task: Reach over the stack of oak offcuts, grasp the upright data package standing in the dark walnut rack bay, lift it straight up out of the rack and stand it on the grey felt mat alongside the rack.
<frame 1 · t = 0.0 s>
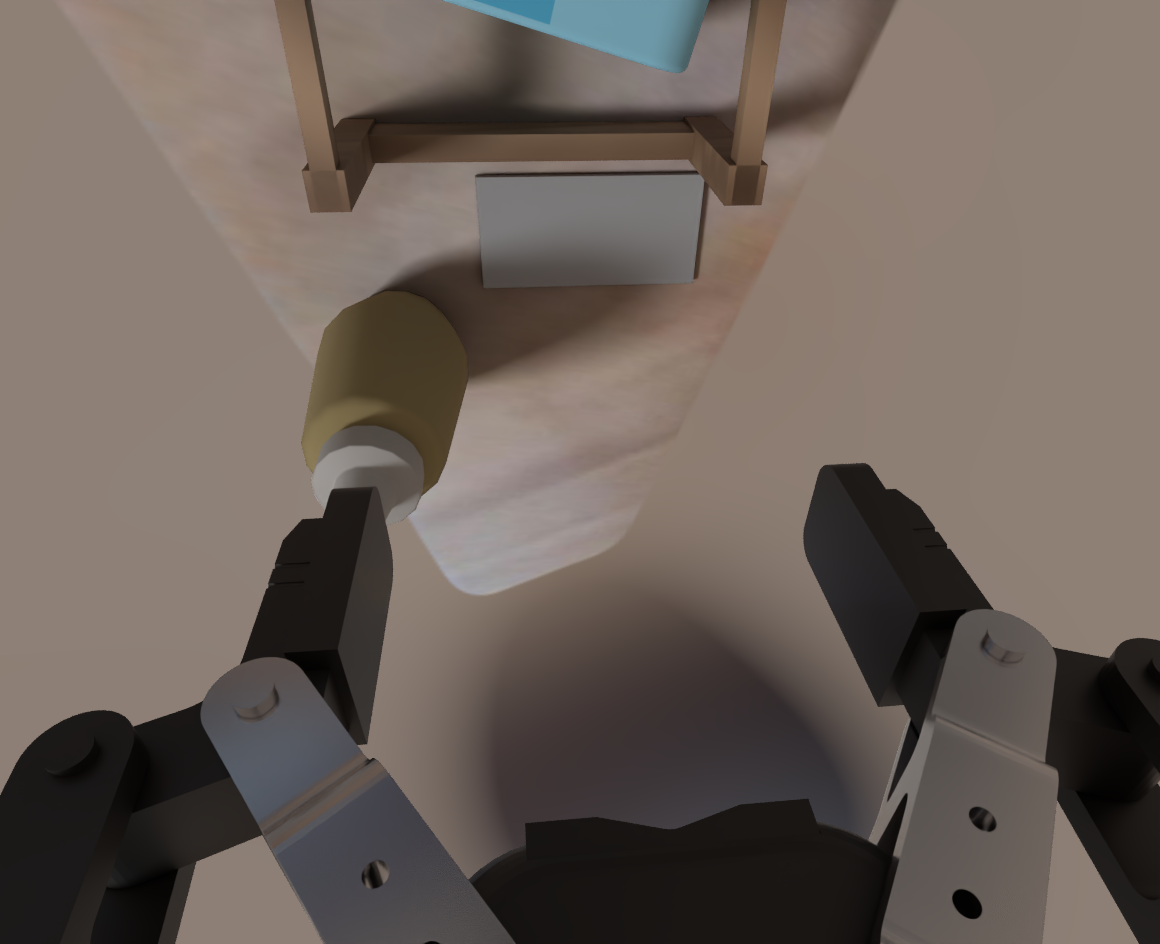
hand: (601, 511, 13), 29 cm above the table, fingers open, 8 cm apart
squeeze bottle: (402, 334, 43), on the table
mat: (589, 230, 40), on the table
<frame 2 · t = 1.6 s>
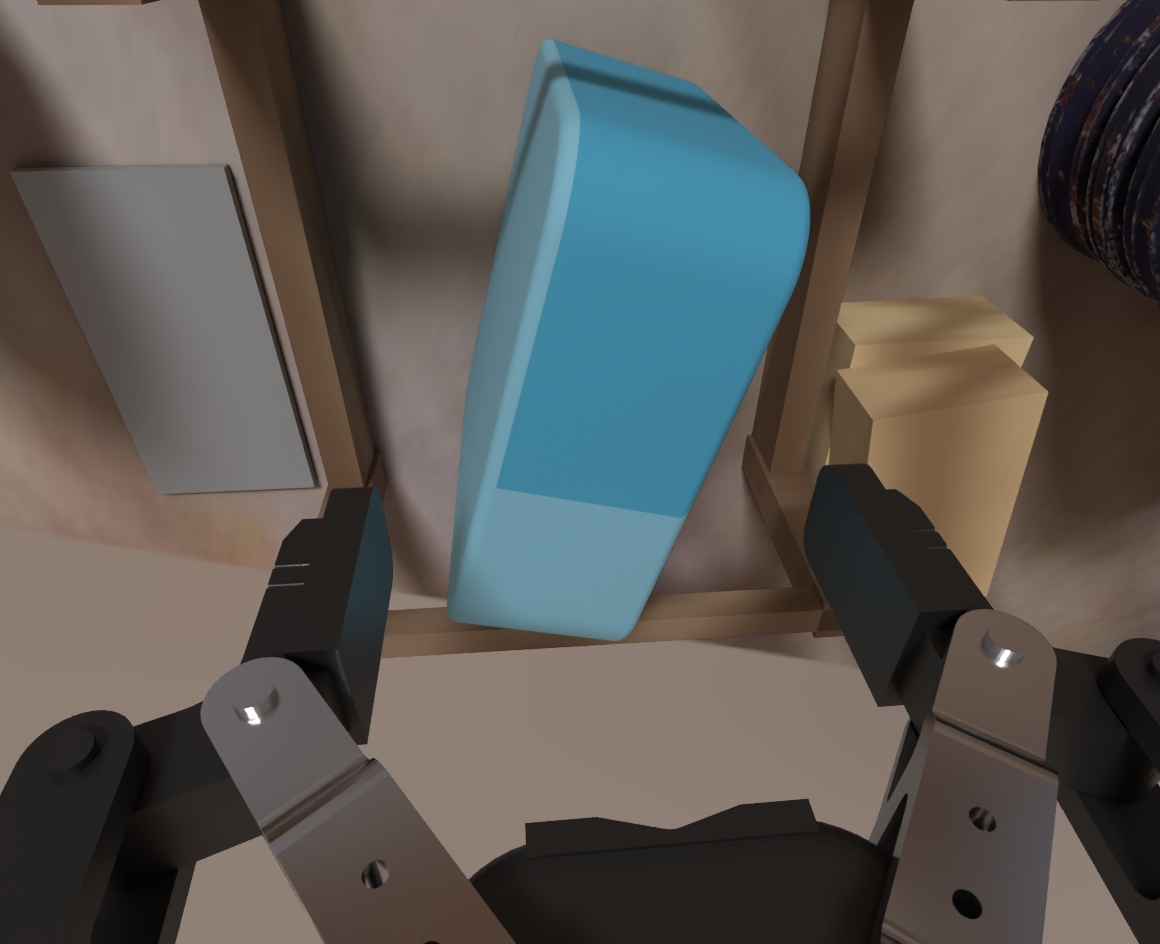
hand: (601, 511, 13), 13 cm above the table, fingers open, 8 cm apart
rack: (564, 253, 24), on the table
data package: (564, 250, 24), on the table
offcut upper: (897, 464, 26), point 3 cm above the table
offcut lower: (866, 412, 29), on the table
mat: (189, 348, 25), on the table
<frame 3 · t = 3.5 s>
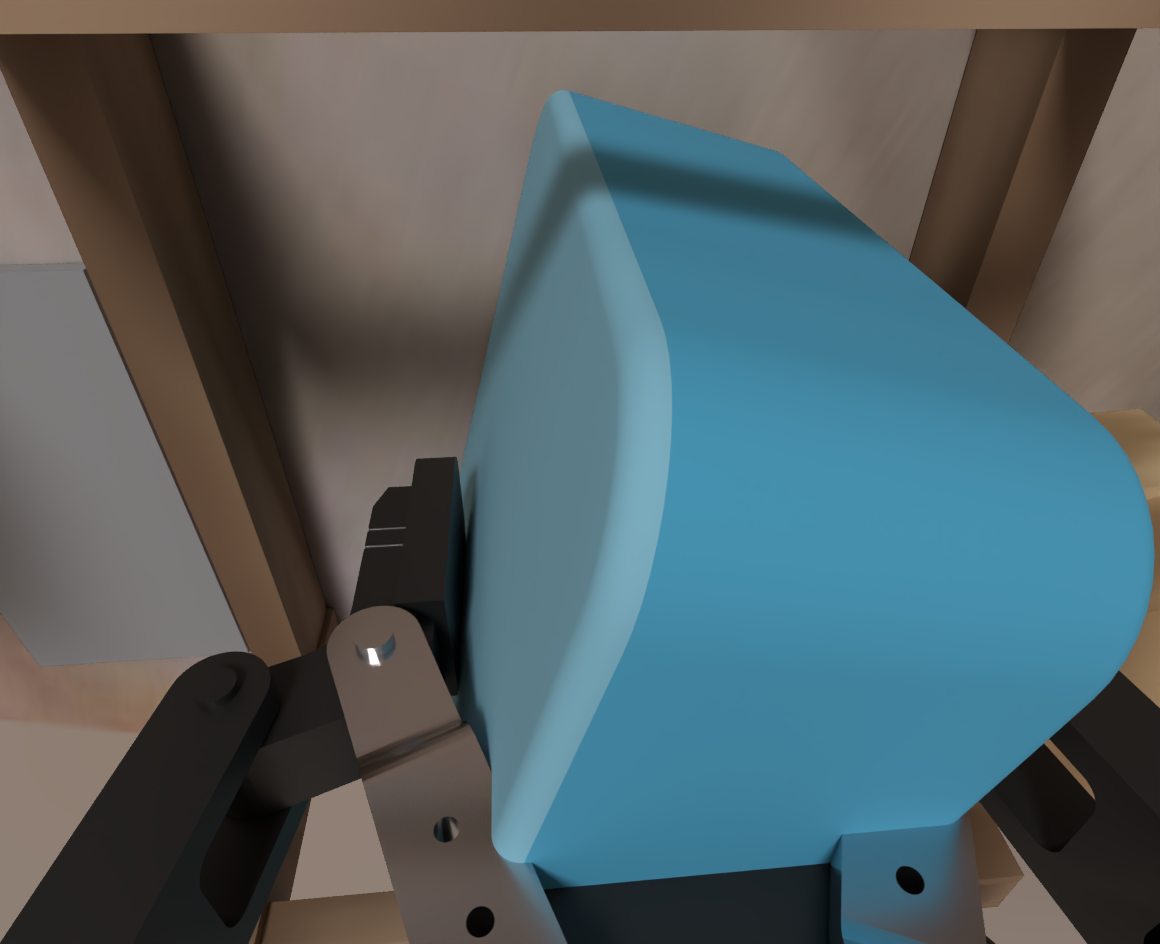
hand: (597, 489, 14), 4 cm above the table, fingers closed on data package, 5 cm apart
rack: (578, 371, 17), on the table
data package: (577, 366, 17), on the table, touching gripper
offcut upper: (1022, 635, 20), point 3 cm above the table, touching offcut lower
offcut lower: (972, 542, 23), on the table, touching offcut upper
mat: (64, 496, 18), on the table
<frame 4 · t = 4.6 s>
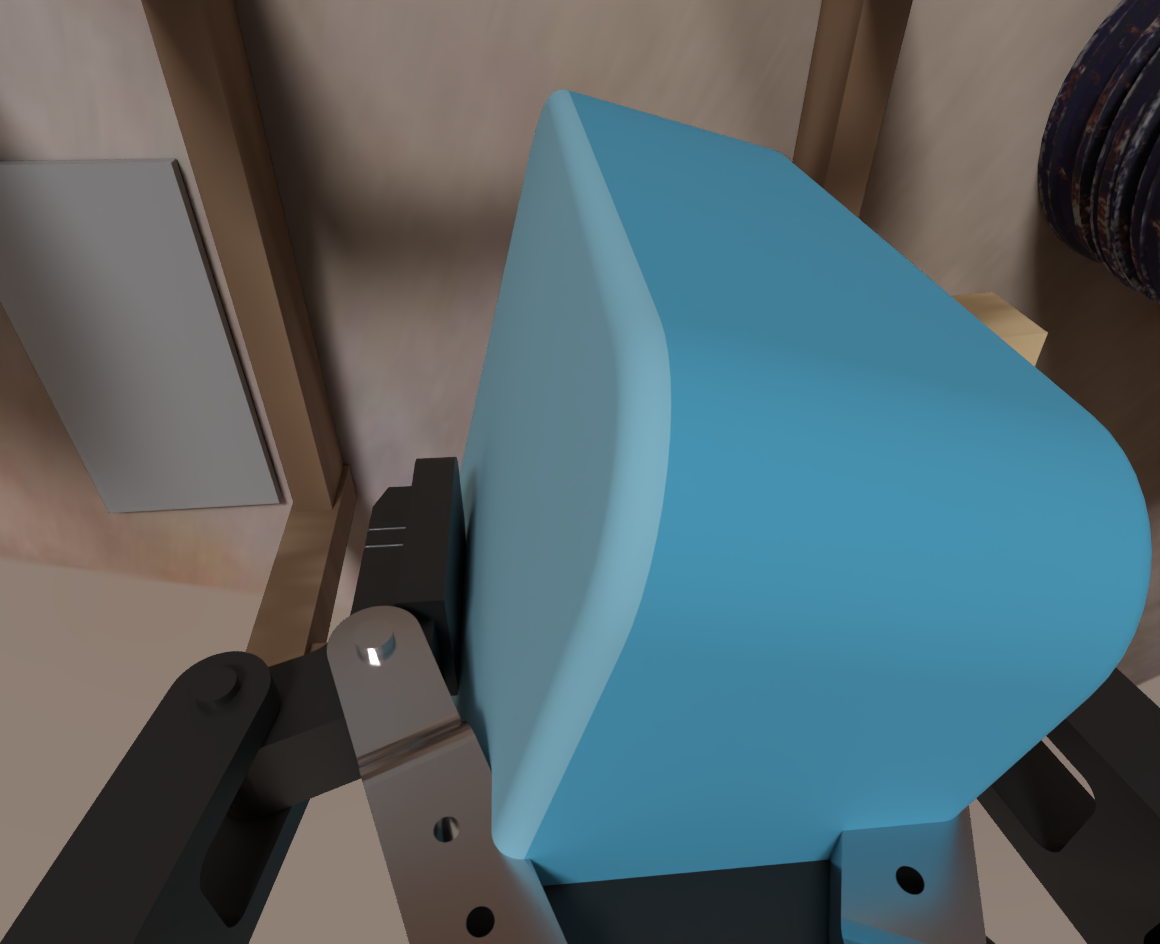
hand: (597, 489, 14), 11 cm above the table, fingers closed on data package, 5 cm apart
rack: (543, 255, 22), on the table
data package: (577, 366, 17), point 7 cm above the table, touching gripper
offcut lower: (874, 414, 28), on the table
mat: (140, 357, 23), on the table
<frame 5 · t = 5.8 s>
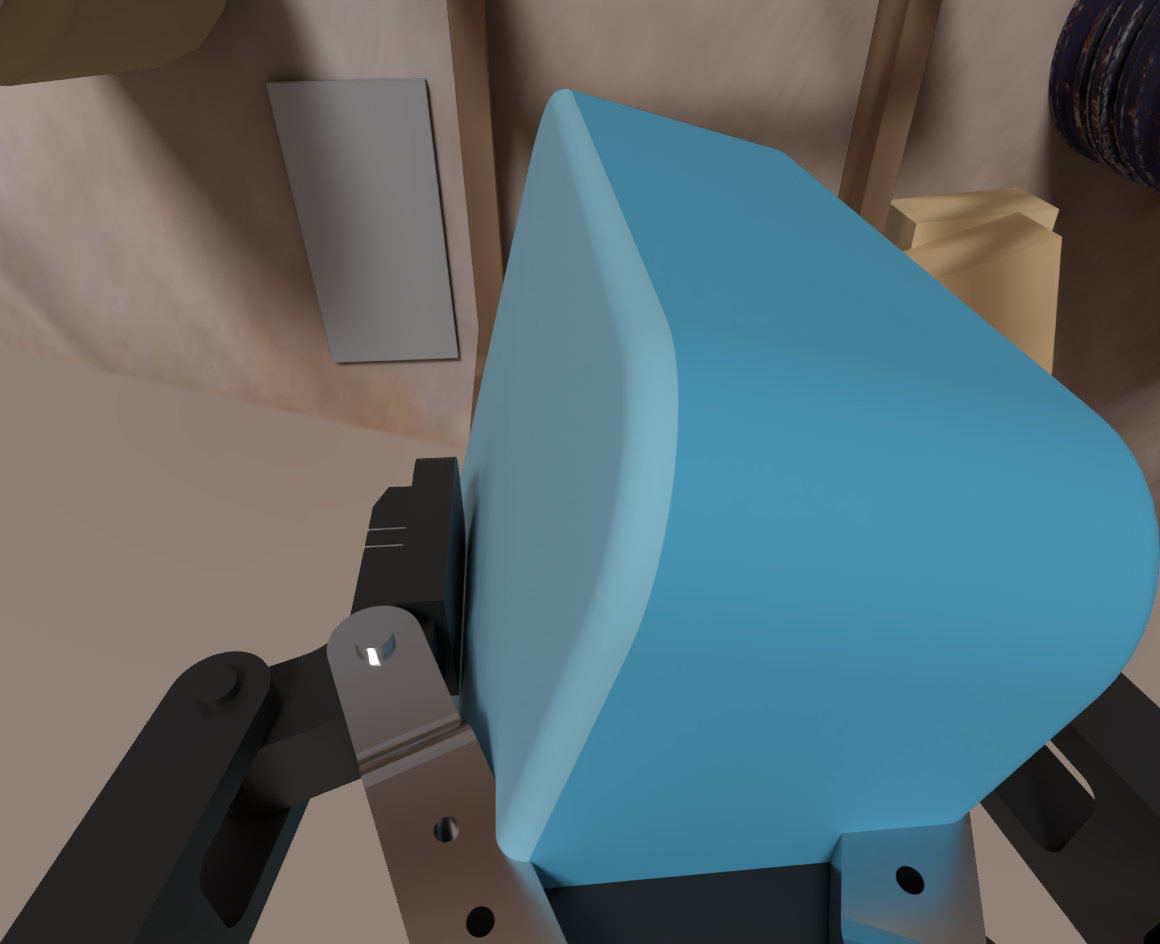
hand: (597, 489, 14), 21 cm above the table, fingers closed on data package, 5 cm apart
rack: (674, 154, 30), on the table
data package: (579, 365, 17), point 17 cm above the table, touching gripper
offcut upper: (956, 325, 33), point 3 cm above the table, touching offcut lower
offcut lower: (923, 294, 36), on the table, touching offcut upper
mat: (375, 234, 32), on the table
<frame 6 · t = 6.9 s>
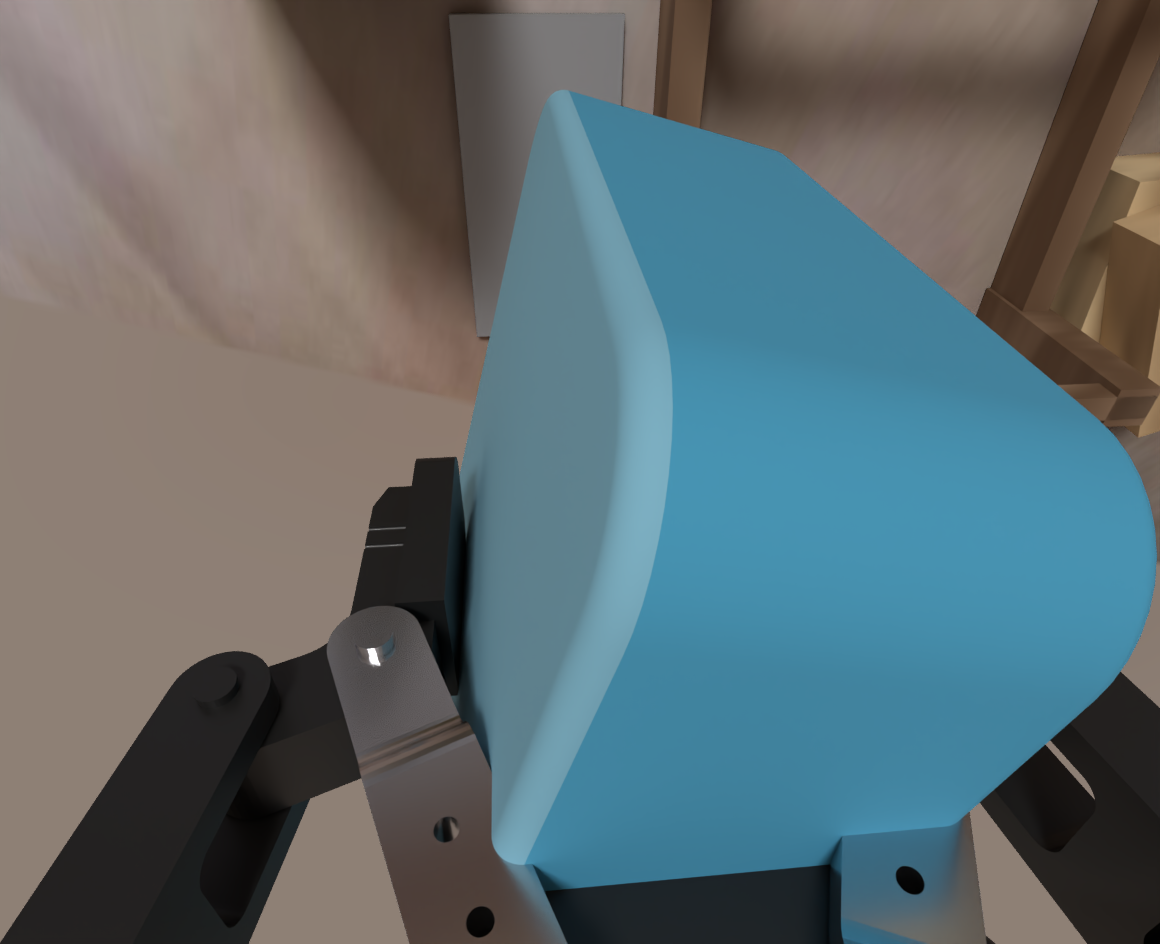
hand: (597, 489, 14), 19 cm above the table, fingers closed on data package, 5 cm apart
rack: (876, 104, 28), on the table
data package: (577, 366, 17), point 14 cm above the table, touching gripper
offcut lower: (1105, 264, 33), on the table
mat: (541, 192, 29), on the table
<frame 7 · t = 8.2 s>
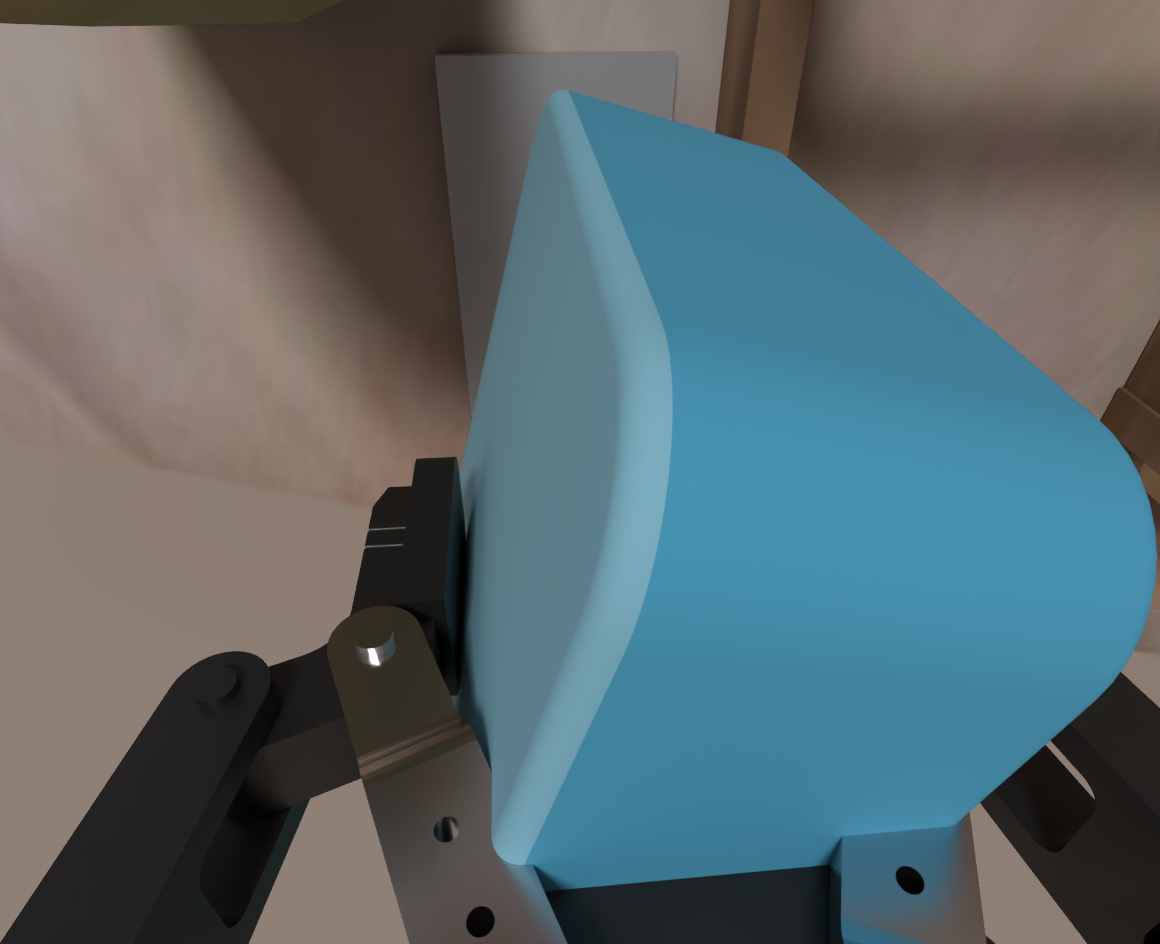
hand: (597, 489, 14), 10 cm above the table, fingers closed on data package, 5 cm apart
rack: (1005, 168, 21), on the table
data package: (577, 366, 17), point 5 cm above the table, touching gripper
mat: (558, 281, 22), on the table
when the fingers open (6 cm above the table, at t = 10.0 s): data package stays where it is, resting on mat.
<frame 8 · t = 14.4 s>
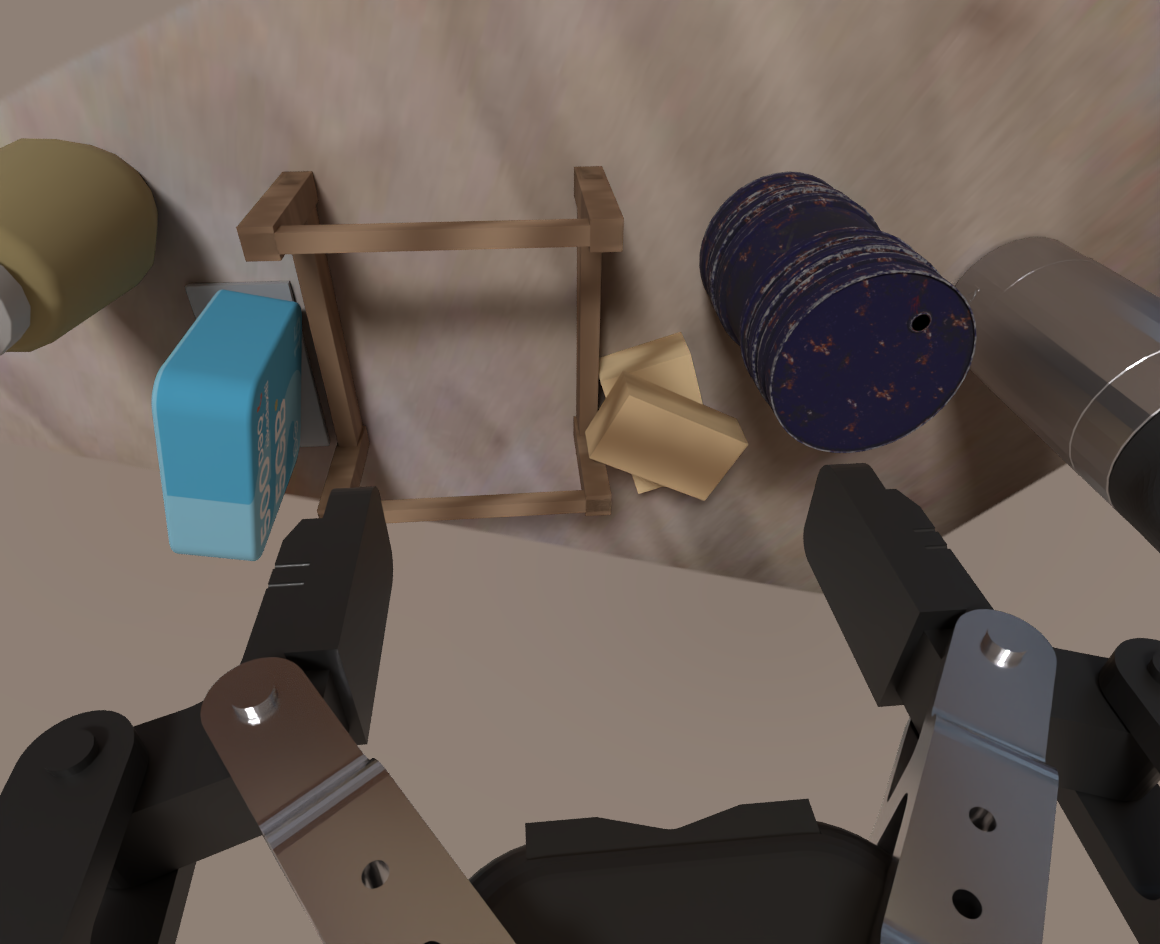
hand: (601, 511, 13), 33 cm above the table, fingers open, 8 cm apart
rack: (460, 320, 46), on the table
dark navy cylinder: (773, 250, 45), on the table
data package: (266, 370, 47), resting on mat
offcut upper: (661, 425, 49), point 3 cm above the table
squeeze bottle: (102, 198, 40), on the table
offcut lower: (653, 401, 52), on the table
mat: (264, 369, 47), on the table
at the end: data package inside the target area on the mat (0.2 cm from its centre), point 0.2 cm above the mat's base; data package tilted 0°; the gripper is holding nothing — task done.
